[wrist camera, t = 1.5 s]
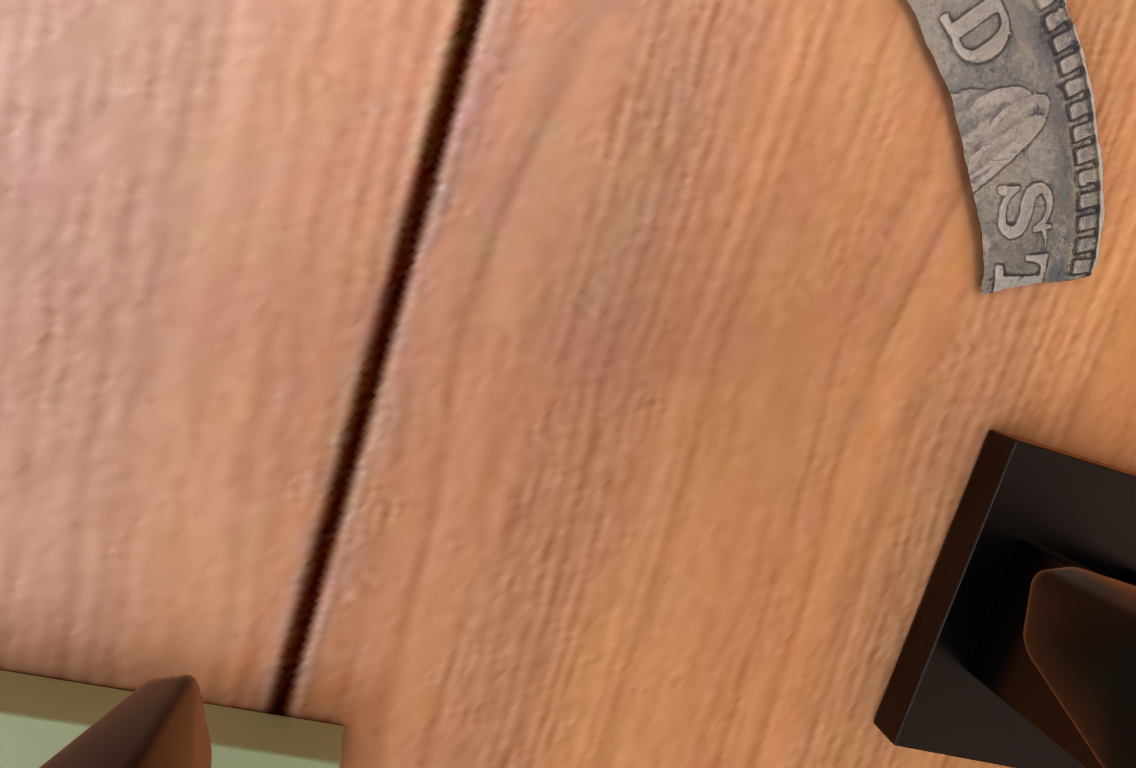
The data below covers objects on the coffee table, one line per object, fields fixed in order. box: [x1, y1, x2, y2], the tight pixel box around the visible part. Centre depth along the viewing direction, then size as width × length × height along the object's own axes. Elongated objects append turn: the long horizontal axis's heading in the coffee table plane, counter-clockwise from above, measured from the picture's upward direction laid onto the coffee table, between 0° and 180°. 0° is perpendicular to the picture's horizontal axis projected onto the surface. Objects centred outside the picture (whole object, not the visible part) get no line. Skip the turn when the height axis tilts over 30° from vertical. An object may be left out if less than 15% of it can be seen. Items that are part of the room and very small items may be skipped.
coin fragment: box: [907, 0, 1105, 295], centre depth 23 cm, size 13×5×1 cm, turn 25°
